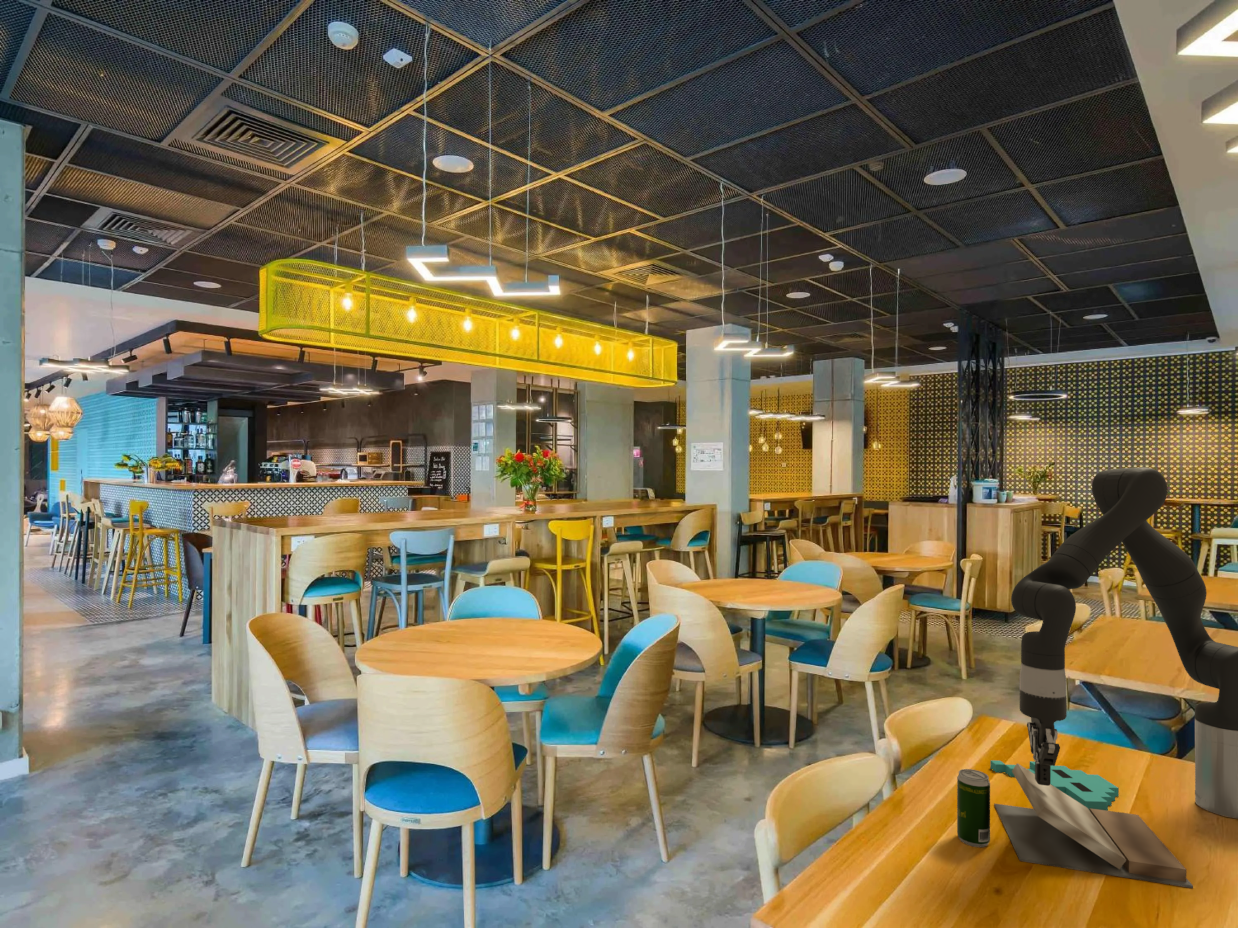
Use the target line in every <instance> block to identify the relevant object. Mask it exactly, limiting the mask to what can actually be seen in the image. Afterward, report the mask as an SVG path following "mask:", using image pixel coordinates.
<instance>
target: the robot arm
mask: <svg viewBox="0 0 1238 928" xmlns="http://www.w3.org/2000/svg"><path fill="white" fill-rule="evenodd" d="M1091 482H1092V484H1091V492H1092V497H1093V499H1094V502H1095V503H1096V504H1095V505H1096V506H1097V507H1098V509H1099V511H1100V512H1101V514H1102V515H1101V516H1099V517H1097V518H1096V519H1095V520H1093V521H1092V522H1090V523H1088V524H1087V525H1085V526H1083V527H1082V528H1080V529H1078V530H1077V531H1075V532H1073V533H1072V534H1071V535H1070V536H1068V537H1067V538H1066V539H1065V540H1064V541H1063V542H1062V543H1061V544H1060V545H1059V547H1058V548H1057V549H1056V551H1054V553H1053V554H1052V555H1051V557H1050V558H1049V559H1048V561H1045V563H1043V564H1041V565H1039V566H1038V567H1036V568H1035V569H1034V570H1032V571H1031V572H1029V573H1028V574H1027V575H1025V576H1023V577H1022V578H1021V579H1020V580H1019V581H1018V582H1017V583H1016V584H1015V586H1014V588H1013V590H1012V592H1011V606H1012V608H1013V610H1014V611H1015V612H1016V613H1017V614H1019V615H1021V616H1022V617H1025V618H1029V619H1034V620H1039V621H1042V624H1041V626H1040V628H1039V631H1038V630H1037V631H1027V632H1025V633H1024V634H1023V635H1022V637H1021V643H1020V669H1019V711H1020V712H1021V714H1023V715H1024V716H1026V717H1028V718H1030V721H1029V722H1027V723H1026V727H1027V732H1028V740H1029V746H1030V753H1031V755H1033V756H1032V759H1033V761H1035V780H1036V782H1037V783H1038V784H1039V785H1046V786H1049V785H1050V783H1051V766H1056V763H1057V760H1058V756H1059V752H1060V750H1061V745H1060V744H1059V743H1056V742H1057V740H1058V729H1057V728H1055V727H1056V726H1055V722H1058V721H1059V722H1061V721H1064V720H1066V719H1067V715H1068V714H1067V710H1068V709H1067V696H1068V695H1067V675H1066V652H1065V651H1066V650H1065V649H1066V643H1067V640H1068V638H1069V635H1070V631H1071V627H1072V625H1073V621H1074V619H1075V616H1076V610H1077V604H1076V599H1075V596H1074V595H1073V593H1072V592H1071V590H1074V589H1079V588H1081V587H1082V586H1084V584H1086V583H1087V581H1088V580H1089V579H1090V577H1092V575H1093V574H1094V573H1095V571H1096V570H1097V568H1099V566H1100V565H1101V563H1102V562H1103V561H1104V560H1105V559H1106V557H1107V556H1109V554H1110V553H1111V552H1112V551H1113V550H1114V549H1116V547H1117V546H1118V545H1120V544H1121V543H1122V544H1123V546H1124V548H1125V550H1126V551H1127V553H1128V555H1129V557H1130V559H1131V560H1132V562H1133V563H1134V566H1135V567H1136V569H1137V571H1138V574H1139V575H1140V578H1141V580H1142V581H1143V583H1144V585H1145V587H1146V589H1147V592H1149V595H1150V596H1151V598H1152V599H1153V601H1154V602H1155V604H1156V606H1157V608H1158V611H1159V613H1160V615H1161V616H1162V618H1163V620H1164V622H1165V624H1166V626H1167V628H1168V631H1169V633H1170V635H1171V637H1172V641H1173V642H1174V645H1175V648H1176V651H1177V654H1178V656H1179V658H1180V661H1181V664H1182V666H1183V668H1184V670H1185V671H1186V673H1187V674H1188V675H1189V677H1190V678H1191V679H1193V680H1194V681H1195V682H1197V683H1199V684H1201V685H1203V686H1207V687H1210V688H1214V689H1217V690H1219V691H1218V698H1217V701H1216V702H1200V703H1198V704H1196V706H1195V708H1194V789H1195V790H1194V796H1195V797H1194V801H1195V803H1196V805H1197V806H1198V807H1200V808H1202V809H1203V810H1205V811H1208V812H1211V813H1212V814H1216V815H1220V816H1222V817H1227V818H1233V819H1238V646H1235V645H1230V644H1226V643H1221V642H1216V641H1215V640H1214V639H1213V638H1211V636H1210V634H1209V633H1208V631H1207V629H1206V628H1205V626H1204V623H1203V621H1202V614H1203V609H1204V606H1205V604H1206V599H1207V587H1206V584H1205V581H1204V579H1203V577H1202V575H1201V574H1200V572H1199V570H1198V568H1197V565H1195V562H1194V561H1193V559H1192V558H1191V557H1190V555H1188V554H1187V553H1186V552H1185V551H1184V550H1183V549H1182V548H1180V547H1179V546H1178V545H1176V544H1175V543H1174V542H1172V541H1171V540H1170V539H1169V538H1167V537H1166V536H1165V535H1163V534H1161V533H1160V532H1159V531H1158V530H1157V529H1156V528H1154V527H1153V526H1152V525H1151V524H1150V523H1149V521H1148V519H1150V518H1151V517H1152V516H1153V515H1155V514H1156V513H1157V512H1158V511H1159V510H1160V509H1161V508H1162V506H1163V505H1164V503H1165V502H1166V500H1167V496H1168V491H1169V490H1168V484H1167V481H1166V479H1165V477H1164V476H1163V474H1162V473H1161V472H1160V471H1158V470H1157V469H1155V468H1152V467H1143V466H1142V467H1126V468H1125V467H1124V468H1122V467H1121V468H1113V469H1112V468H1111V469H1106V470H1101V471H1100V472H1098V473H1096V475H1094V477H1093V479H1092V481H1091Z"/></svg>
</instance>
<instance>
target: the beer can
mask: <svg viewBox="0 0 1238 928" xmlns="http://www.w3.org/2000/svg"><path fill="white" fill-rule="evenodd" d="M956 777H957V779H956V781H957V785H956V786H957V787H956V791H957V792H956V793H957V794H956V795H957V796H956V797H957V798H956V799H957V800H956V801H957V803H956V804H957V805H956V806H957V807H956V808H957V809H956V810H957V811H956V815H957V817H956V827H957V829H956V834H957V837H958V839H959V841H960V842H962V843H963V844H965V845H967V846H970V847H974V848H985V847H988V845H989V843H990V842H991V782H990V780H989V775H988V774H987V773H984V772H983V771H981V770H976V769H971V768H962V769H960V770H959V771H958V775H957V776H956Z"/></svg>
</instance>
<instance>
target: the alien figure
mask: <svg viewBox="0 0 1238 928" xmlns="http://www.w3.org/2000/svg"><path fill="white" fill-rule="evenodd" d="M989 766H990V769H991V770H992V769H993V770H992V771H993V772H994V771H995V772H994V773H1002V772H1005V773H1004V774H1006V775H1008V776H1009V777H1010V778H1011V777H1013V778H1015V776H1014V774H1013V772H1012V770H1013V769H1014V767H1015V766H1016V764H1006V763H1004V762H1003V761H1001V760H996V759H995V760H994V759H993V760H990V765H989ZM1026 769H1027V770H1029V771H1031V772H1032V773H1034V774H1035V761H1034V760H1033V761H1029V768H1026ZM1050 784H1051V785H1052V786H1054V787H1056V788H1057V789H1059V790H1060V791H1062V792H1063V793H1065V794H1067V795H1068V796H1070V797H1071V798H1073V799H1074V800H1076V801H1077V802H1079V803H1081V804H1082V805H1084V806H1085V807H1087V808H1088V809H1089V811H1090V808H1091V809H1099V810H1106V811H1109V806H1111V807H1112V802H1115V801H1116V797H1119V795H1120V793H1119V790H1120V789H1119V787H1118V786H1116V785H1115V784H1113V783H1111V782H1110V781H1108V780H1107V779H1106V778H1104V777H1102V776H1100V775H1099V774H1090V773H1089V774H1088V773H1086V772H1084V771H1083V770H1082V769H1070V768H1068V766H1065V765H1055V766H1051V783H1050Z"/></svg>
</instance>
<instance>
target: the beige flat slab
mask: <svg viewBox="0 0 1238 928" xmlns="http://www.w3.org/2000/svg"><path fill="white" fill-rule="evenodd" d="M1015 765H1016V766H1015V767H1014V769H1013V770H1012V772H1013V774H1014V776H1015V777H1014V778H1015V779H1016V781H1017V783H1018V785H1019V786H1020V788H1021V790H1022V791H1023V793H1024V795H1025V797H1026V798H1027V800H1028V802H1029V804H1030V805H1031V808H1032V809H1034V810H1035V812H1036V814H1037V815H1038V816H1039V817H1040V818H1042V819H1043V820H1045V821H1046V822H1048V823H1049V824H1051V825H1052V826H1054V827H1055V828H1057V829H1058V830H1060V831H1062V832H1063V833H1065V834H1066V835H1068V836H1069V837H1071V838H1072V839H1074V840H1075V841H1077V842H1078V843H1080V844H1081V845H1083V846H1084V847H1086V848H1087V849H1089V850H1091V851H1092V852H1094V853H1095V854H1097V855H1098V856H1100V857H1101V858H1103V859H1104V860H1106V861H1107V862H1109V863H1110V864H1112V865H1113V866H1115V867H1117V868H1118V869H1120V868H1121V867H1122V865H1123V864H1124V863H1125V861H1126V859H1125V857H1124V856H1123V855H1122V853H1121V852H1120V851H1119V849H1118V848H1117V847H1116V845H1115V844H1114V843H1113V841H1112V840H1111V839H1110V837H1109V836H1108V835H1107V833H1106V832H1105V831H1104V829H1103V828H1102V827H1101V825H1100V824H1099V823H1098V821H1097V820H1096V819H1095V817H1094V816H1093V815H1092V813H1091V812H1090V810H1089V809H1088V808H1087V807H1085V806H1084V805H1082V804H1081V803H1079V802H1077V801H1076V800H1074V799H1073V798H1071V797H1070V796H1068V795H1067V794H1065V793H1063V792H1062V791H1060V790H1059V789H1057V788H1056V787H1054V786H1052V785H1051V784H1050V785H1049V786H1046V785H1039V784H1038V783H1037V782H1036V780H1035V774H1034V773H1032V772H1031V771H1029V770H1027V769H1028V768H1026V767H1024V766H1022V765H1021V764H1019V763H1016V764H1015Z"/></svg>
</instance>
